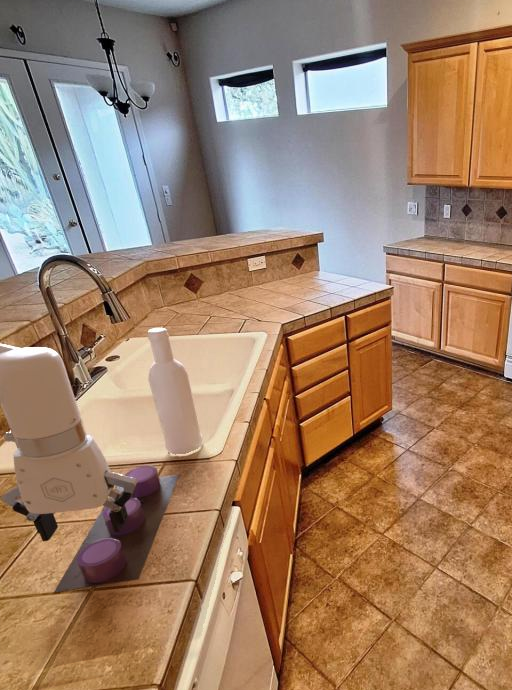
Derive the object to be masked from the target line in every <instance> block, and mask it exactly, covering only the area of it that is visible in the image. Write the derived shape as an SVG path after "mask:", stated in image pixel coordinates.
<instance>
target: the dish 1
mask: <svg viewBox="0 0 512 690" xmlns="http://www.w3.org/2000/svg"><path fill="white" fill-rule="evenodd" d="M126 562H127V559H126V556H125V553H124V551H123V548H122V545H121V543H120V541H119V540H117V539H113V538H108V539H102V540H99V541H96V542H94V543H92V544H90V545H89V546H87V547H86V548H84V549H83V550H82V551H81V552H80V554H79V555H78V557H77V563H78V565H79V568H80V570H81V572H82V575H83V577H84V579H85V580H86V581H87V582H89V583H100V582H104V581H107V580H109V579H111V578H113V577H115V576H116V575H117V574H119V573H120V572H121V571H122V570H123V569H124V567H125V565H126Z"/></svg>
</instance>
